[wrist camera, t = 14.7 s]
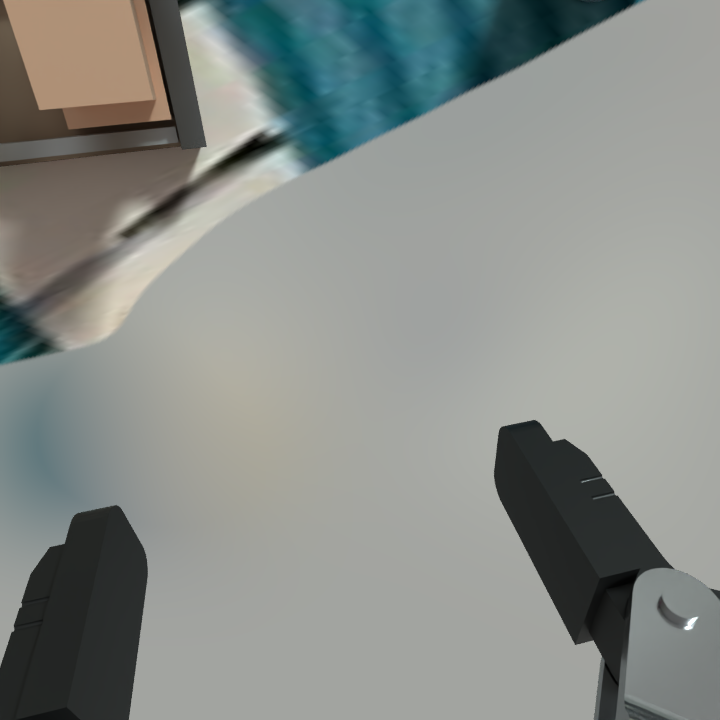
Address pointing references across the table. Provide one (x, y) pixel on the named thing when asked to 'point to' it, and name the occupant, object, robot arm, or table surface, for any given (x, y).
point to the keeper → (91, 60)
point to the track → (56, 142)
